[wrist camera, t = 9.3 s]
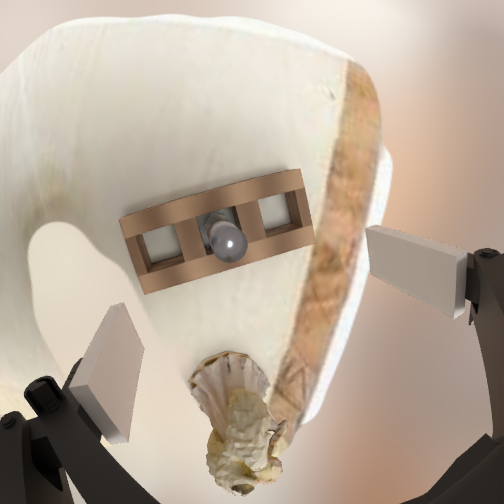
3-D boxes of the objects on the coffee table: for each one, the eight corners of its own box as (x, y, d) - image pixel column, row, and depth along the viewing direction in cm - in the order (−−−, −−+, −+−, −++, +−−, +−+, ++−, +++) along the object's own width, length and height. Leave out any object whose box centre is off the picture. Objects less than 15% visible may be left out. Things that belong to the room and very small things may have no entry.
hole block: (148, 283, 36) (144, 294, 32) (126, 215, 33) (118, 219, 30) (303, 237, 39) (316, 242, 35) (288, 170, 36) (300, 168, 33)
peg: (208, 240, 36) (217, 267, 25) (201, 217, 35) (207, 233, 24) (231, 233, 37) (251, 256, 25) (225, 210, 36) (242, 223, 24)
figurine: (273, 397, 44) (316, 492, 25) (204, 416, 42) (221, 518, 23) (257, 340, 41) (307, 442, 22) (179, 361, 39) (182, 475, 20)
